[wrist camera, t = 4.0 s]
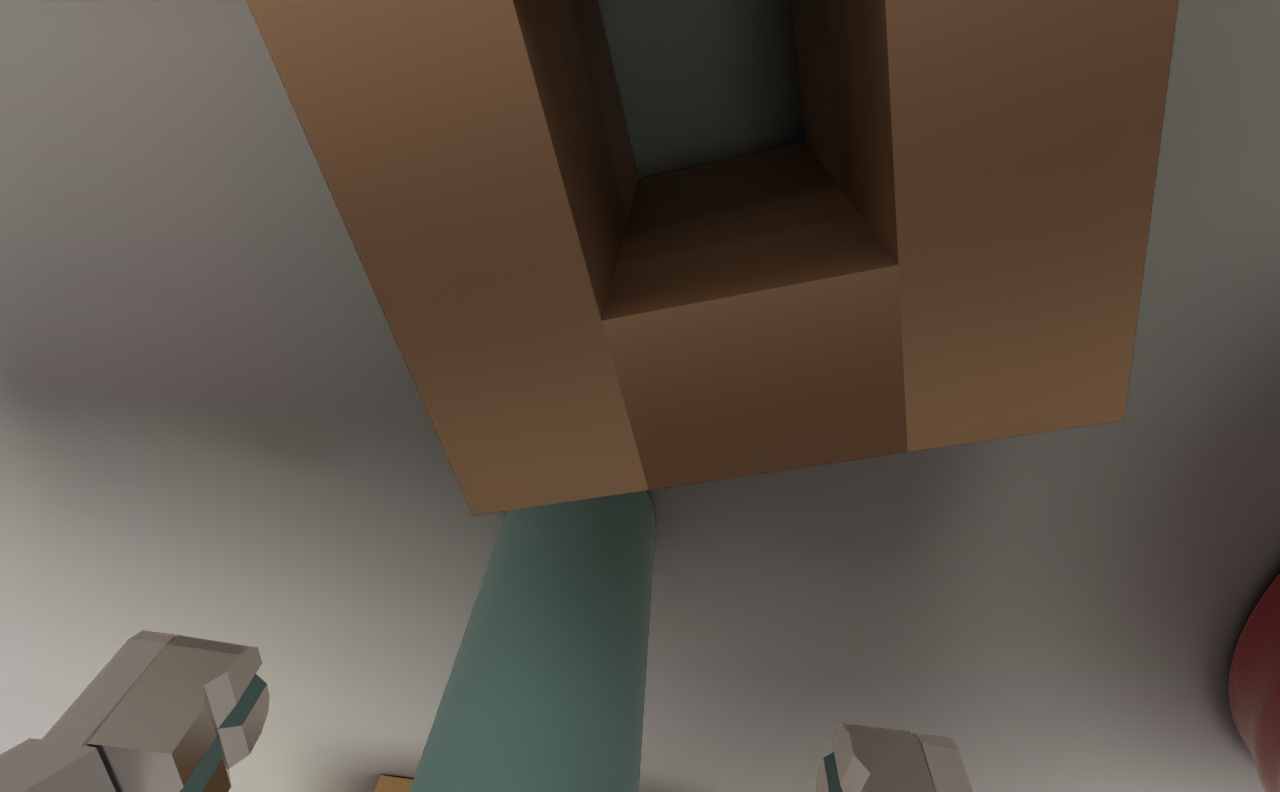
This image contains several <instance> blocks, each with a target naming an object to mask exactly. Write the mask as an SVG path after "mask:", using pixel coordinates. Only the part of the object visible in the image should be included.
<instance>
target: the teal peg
mask: <svg viewBox="0 0 1280 792" xmlns="http://www.w3.org/2000/svg"><path fill="white" fill-rule="evenodd" d="M655 523H656V518H655V510H654V506H653V503H652V501H651V499H650V497H649V495H648V493H647V492H646V490H645V491H638V492H631V493H624V494H617V495H610V496H603V497H597V498H590V499H583V500H576V501H569V502H562V503H555V504H549V505H542V506H535V507H528V508H521V509H514V510H508V511H507V513H506V516H505V519H504V521H503V524H502V527H501V530H500V533H499V536H498V539H497V542H496V544H495V547H494V550H493V553H492V556H491V559H490V562H489V565H488V567H487V570H486V573H485V576H484V579H483V582H482V585H481V588H480V590H479V593H478V596H477V599H476V602H475V605H474V608H473V610H472V613H471V616H470V619H469V622H468V625H467V628H466V631H465V633H464V636H463V639H462V642H461V645H460V648H459V651H458V654H457V656H456V659H455V662H454V665H453V668H452V671H451V674H450V677H449V679H448V682H447V685H446V688H445V691H444V694H443V697H442V700H441V702H440V705H439V708H438V711H437V714H436V717H435V720H434V723H433V725H432V728H431V731H430V734H429V737H428V740H427V743H426V746H425V748H424V751H423V754H422V757H421V760H420V763H419V766H418V769H417V771H416V774H415V777H414V780H413V783H412V786H411V789H410V792H639V777H640V761H641V745H642V729H643V713H644V698H645V682H646V666H647V650H648V634H649V618H650V602H651V587H652V571H653V555H654V539H655Z"/></svg>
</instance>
